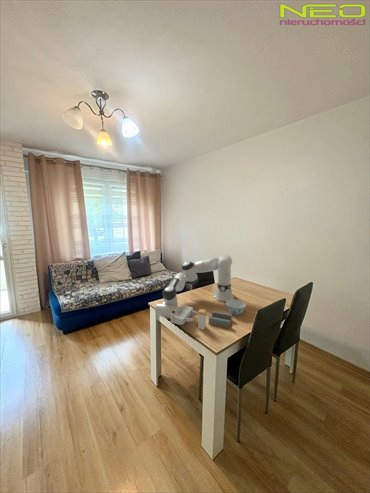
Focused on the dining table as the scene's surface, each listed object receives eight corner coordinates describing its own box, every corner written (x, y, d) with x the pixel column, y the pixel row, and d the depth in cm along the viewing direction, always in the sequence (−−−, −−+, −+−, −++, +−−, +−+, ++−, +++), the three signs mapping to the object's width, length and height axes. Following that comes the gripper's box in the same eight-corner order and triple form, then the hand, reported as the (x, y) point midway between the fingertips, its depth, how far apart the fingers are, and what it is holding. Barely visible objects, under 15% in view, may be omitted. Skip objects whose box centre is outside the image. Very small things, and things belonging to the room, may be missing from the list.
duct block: (212, 316, 150) (213, 310, 149) (231, 320, 145) (232, 314, 144) (208, 324, 139) (208, 318, 138) (228, 328, 133) (229, 322, 133)
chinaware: (236, 319, 145) (237, 309, 144) (221, 311, 157) (222, 302, 156) (249, 314, 154) (250, 304, 152) (234, 307, 166) (234, 298, 164)
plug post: (199, 325, 137) (200, 308, 135) (205, 326, 135) (206, 310, 133) (198, 328, 133) (198, 311, 131) (203, 329, 132) (204, 312, 130)
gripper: (181, 310, 150) (199, 314, 145) (169, 324, 131) (189, 328, 126) (182, 302, 149) (199, 306, 144) (170, 315, 130) (190, 319, 125)
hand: (195, 316), depth 134 cm, fingers open, 8 cm apart
